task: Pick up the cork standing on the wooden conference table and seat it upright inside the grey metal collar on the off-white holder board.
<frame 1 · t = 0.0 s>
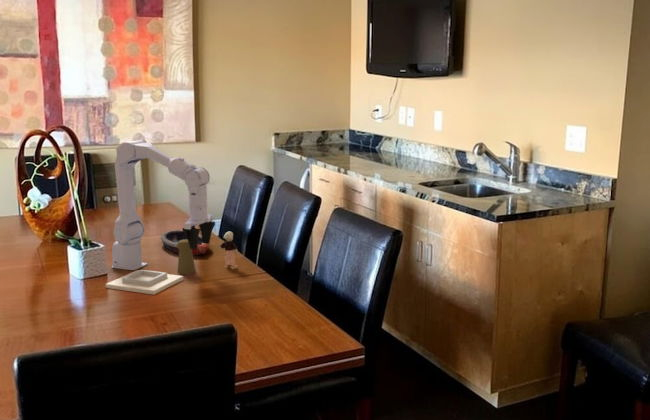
hand: (199, 246, 223), 10 cm above the table, tool pointing down, fingers open, 7 cm apart
dish: (185, 249, 259), on the table
grandmother figurine: (229, 267, 235), on the table
holder board: (145, 283, 217), on the table
cork: (186, 272, 229), on the table
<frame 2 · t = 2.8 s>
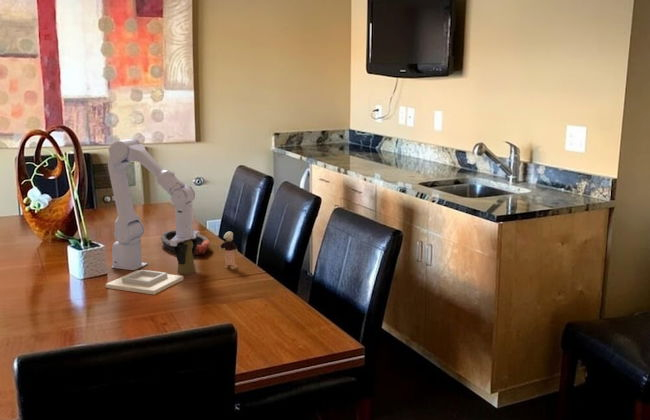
hand: (186, 261, 229), 3 cm above the table, tool pointing down, fingers closed on cork, 5 cm apart
cork: (186, 272, 229), on the table, touching gripper
everything else where it was.
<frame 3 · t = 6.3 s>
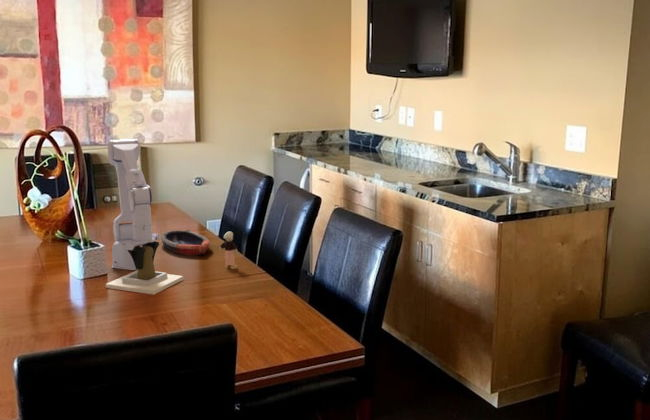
hand: (144, 266, 215), 6 cm above the table, tool pointing down, fingers closed on cork, 5 cm apart
cork: (146, 280, 216), point 1 cm above the table, touching gripper, holder board
everything else where it was.
when the fingers open (6 cm above the table, at t = 6.6 s): cork stays where it is, resting on holder board.
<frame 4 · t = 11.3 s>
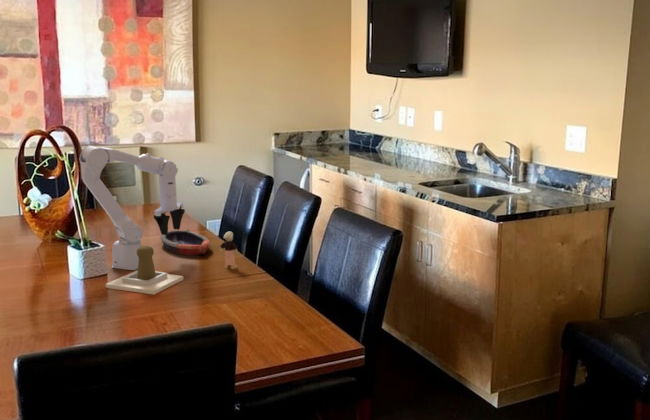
hand: (170, 231, 241), 10 cm above the table, tool pointing down, fingers open, 7 cm apart
cork: (146, 280, 216), point 1 cm above the table, touching holder board
everything else where it was.
at the end: cork 0.6 cm off-centre on the holder board, point 1.0 cm above the holder board's base; cork tilted 0°; the gripper is holding nothing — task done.
